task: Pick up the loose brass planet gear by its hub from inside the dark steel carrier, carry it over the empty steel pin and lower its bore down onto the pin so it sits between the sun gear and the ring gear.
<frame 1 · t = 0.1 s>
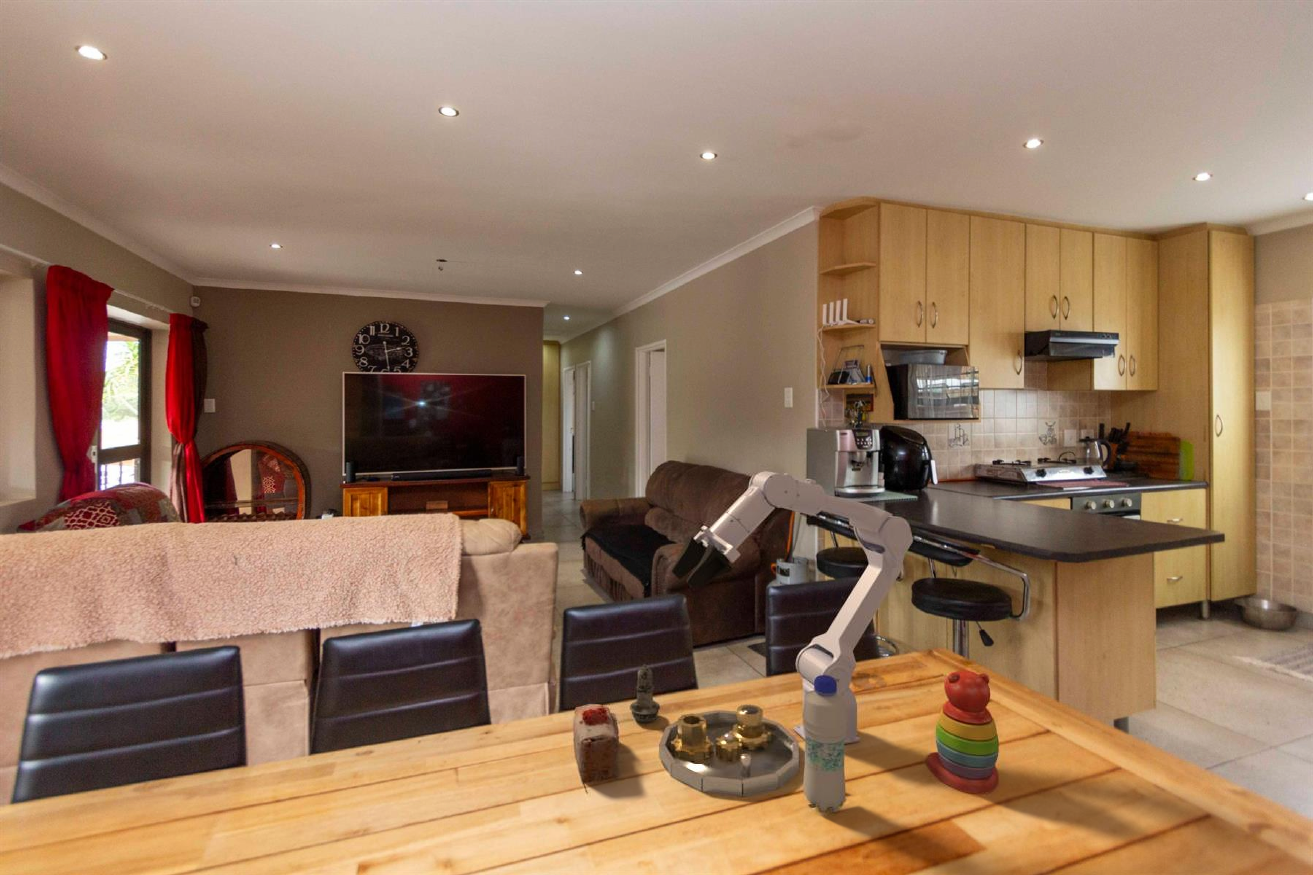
hand: (682, 580, 109), 32 cm above the table, tool tilted 50°, fingers open, 7 cm apart
planet gear: (691, 750, 112), point 1 cm above the table, touching carrier
carrier: (729, 760, 111), on the table
food item: (597, 767, 109), on the table
grey chess piece: (645, 725, 124), on the table
bottle: (824, 804, 98), on the table
stacking bear: (965, 778, 105), on the table
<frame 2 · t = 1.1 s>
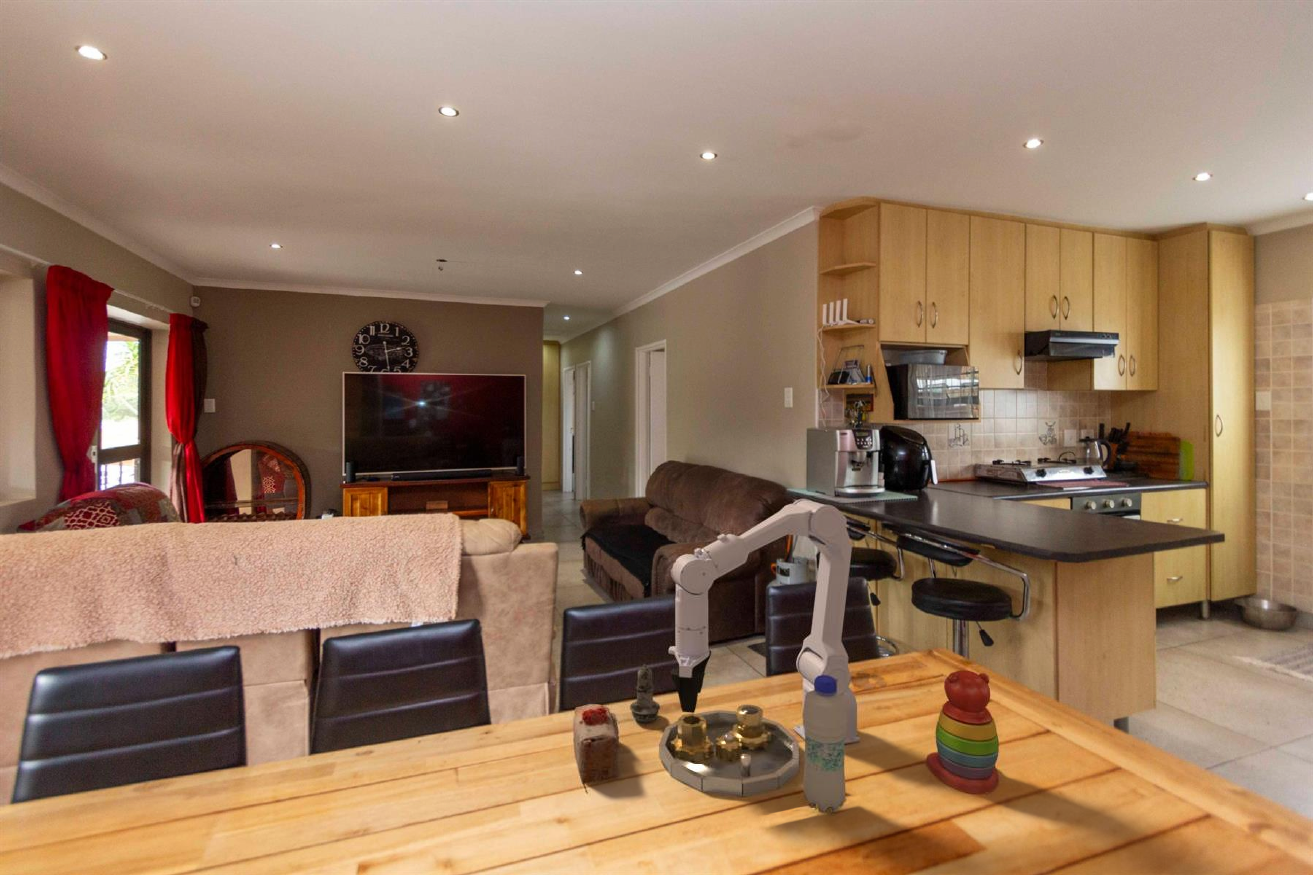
hand: (691, 701, 112), 10 cm above the table, tool pointing down, fingers open, 7 cm apart
nothing on the table moved.
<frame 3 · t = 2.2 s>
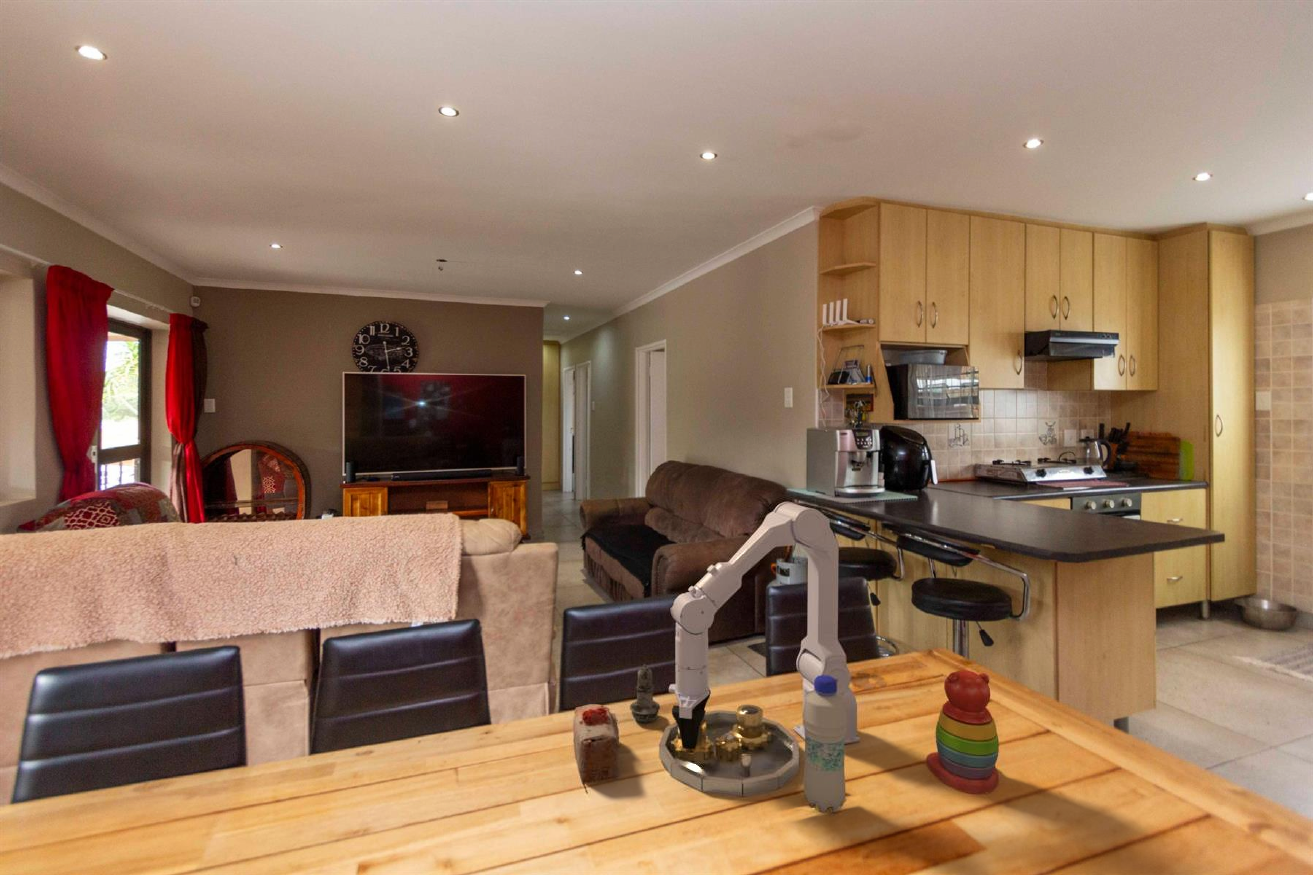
hand: (691, 739, 112), 3 cm above the table, tool pointing down, fingers closed on planet gear, 5 cm apart
planet gear: (691, 750, 112), point 1 cm above the table, touching carrier, gripper
everything else where it was.
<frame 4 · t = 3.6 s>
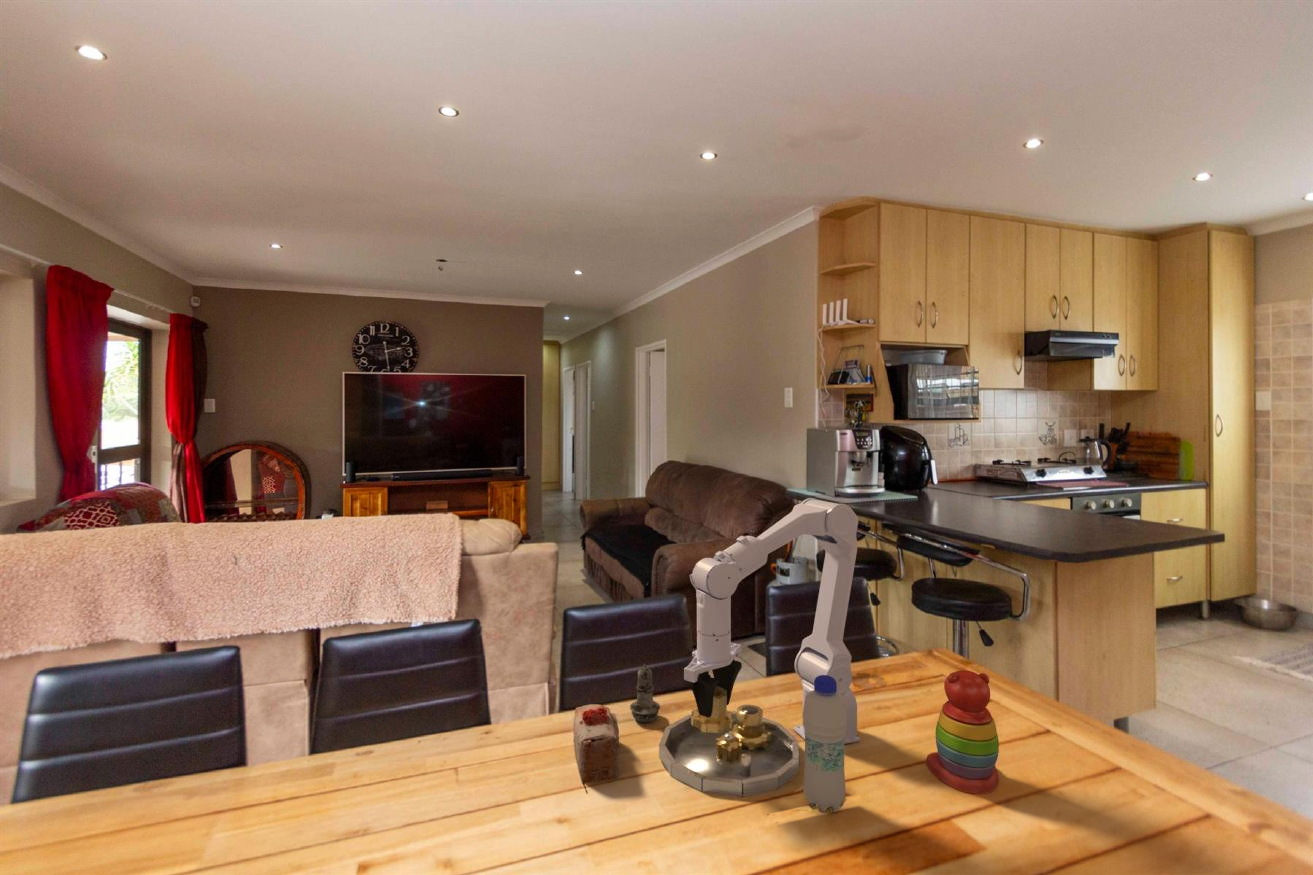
hand: (714, 709, 108), 10 cm above the table, tool pointing down, fingers closed on planet gear, 5 cm apart
planet gear: (712, 722, 109), point 8 cm above the table, touching gripper
everything else where it was.
when the fingers open (10 cm above the table, at t = 3.9 s): planet gear drops 5 cm, resting on carrier.
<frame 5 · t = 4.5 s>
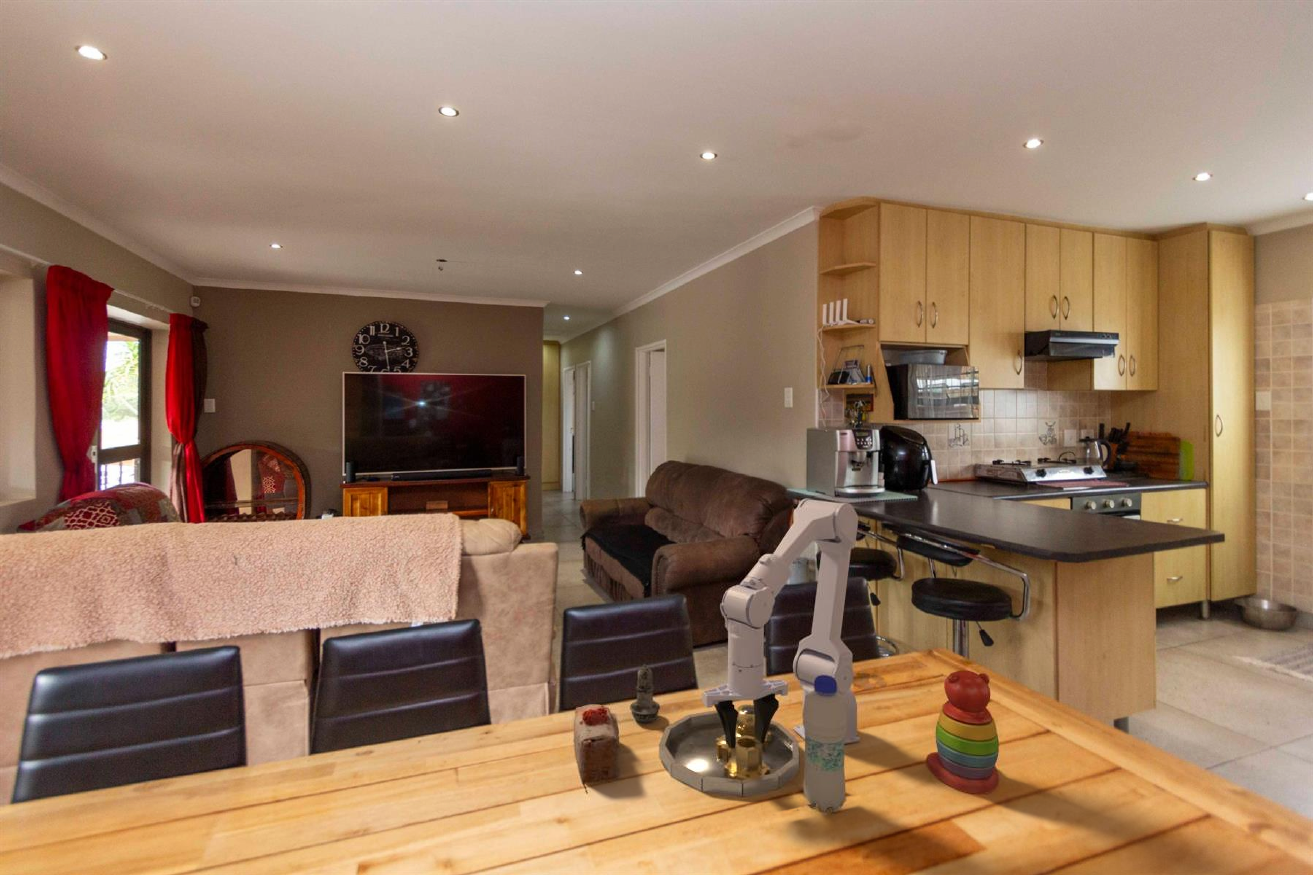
hand: (745, 742, 104), 7 cm above the table, tool pointing down, fingers open, 5 cm apart
planet gear: (746, 775, 104), point 1 cm above the table, touching carrier, gripper
everything else where it was.
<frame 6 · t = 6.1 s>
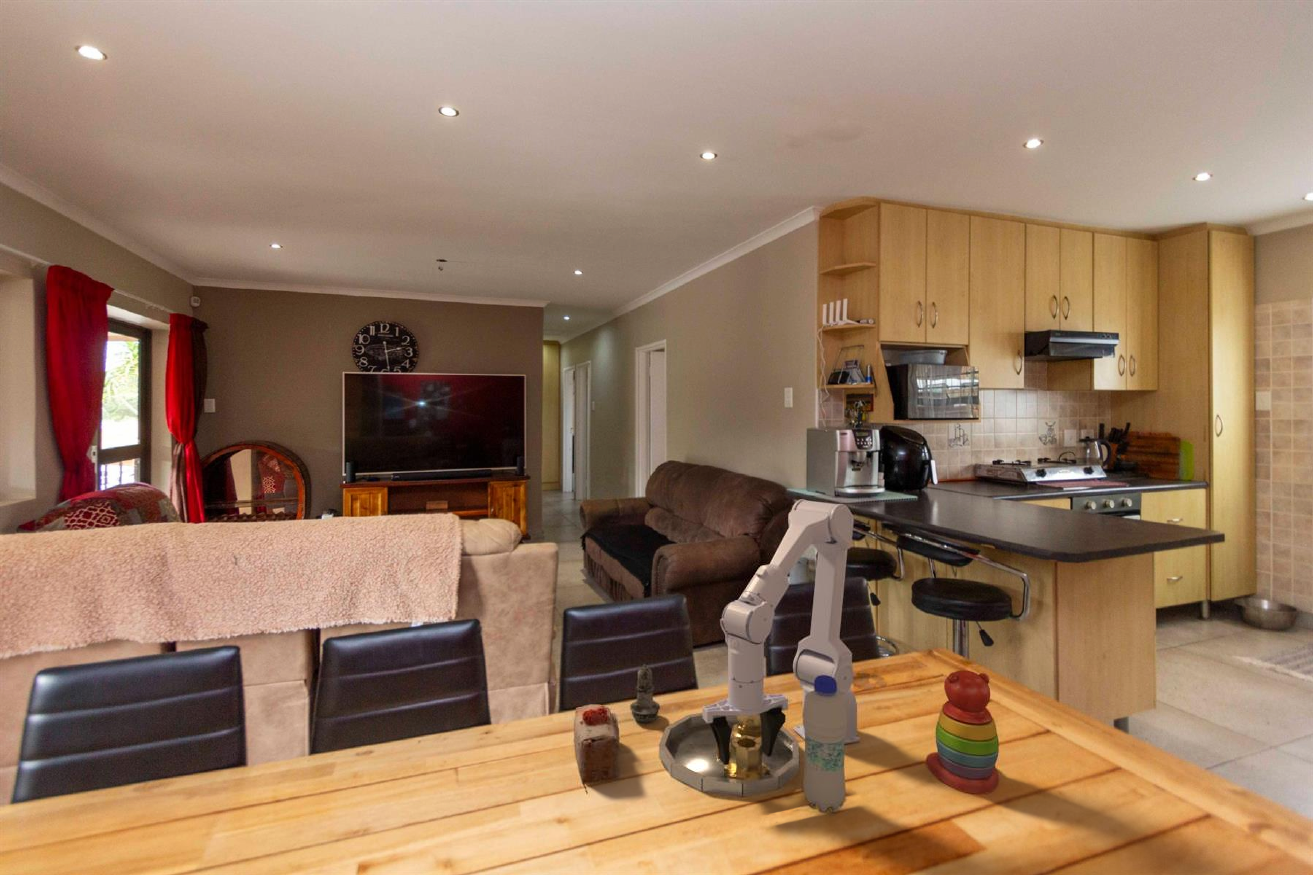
hand: (745, 757, 104), 4 cm above the table, tool pointing down, fingers open, 7 cm apart
planet gear: (746, 775, 104), point 1 cm above the table, touching carrier
everything else where it was.
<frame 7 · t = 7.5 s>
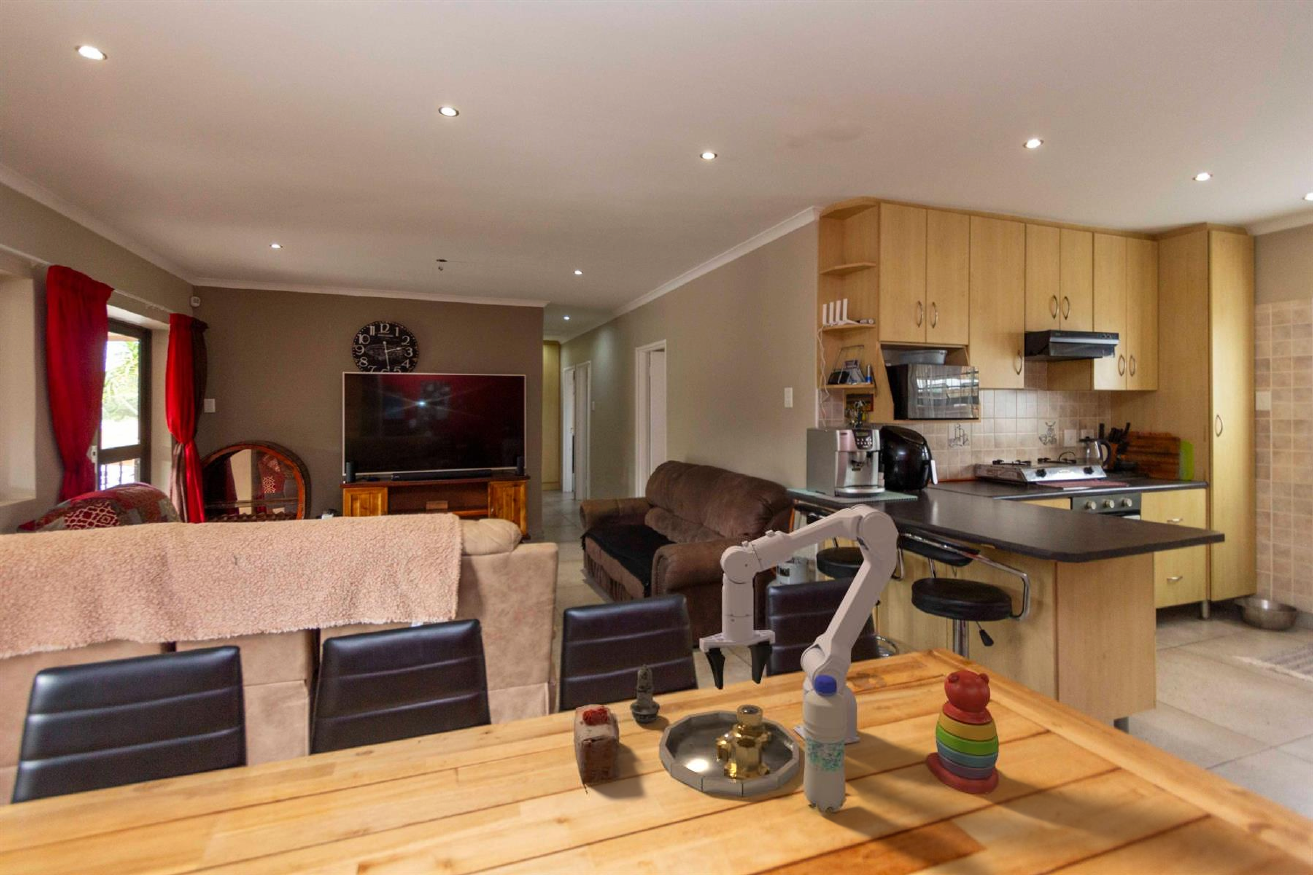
hand: (737, 684, 118), 10 cm above the table, tool pointing down, fingers open, 7 cm apart
nothing on the table moved.
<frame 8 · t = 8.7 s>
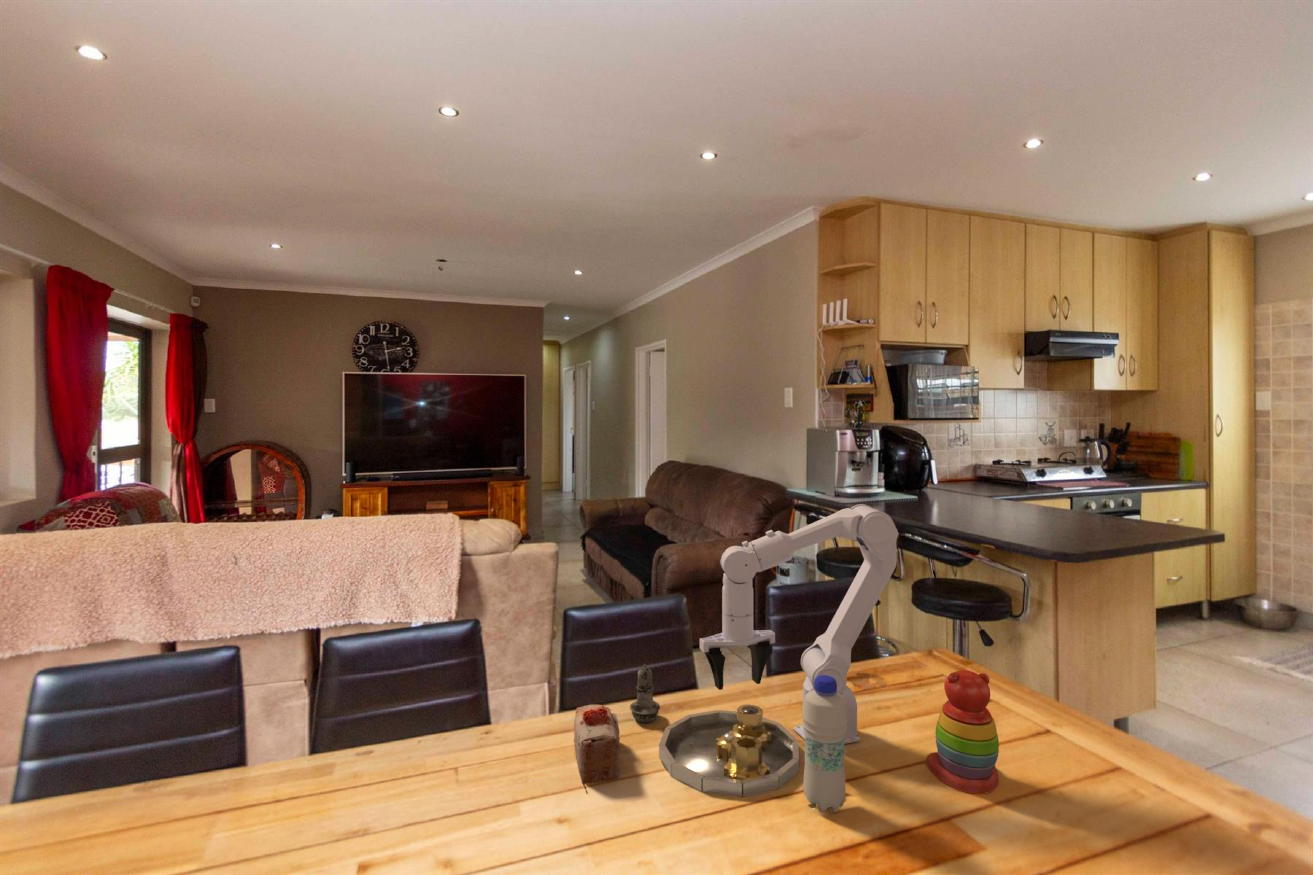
hand: (737, 684, 118), 10 cm above the table, tool pointing down, fingers open, 7 cm apart
nothing on the table moved.
at the end: planet gear 0.3 cm from the target spot on the carrier, point 1.2 cm above the carrier's base; planet gear tilted 0°; the gripper is holding nothing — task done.
